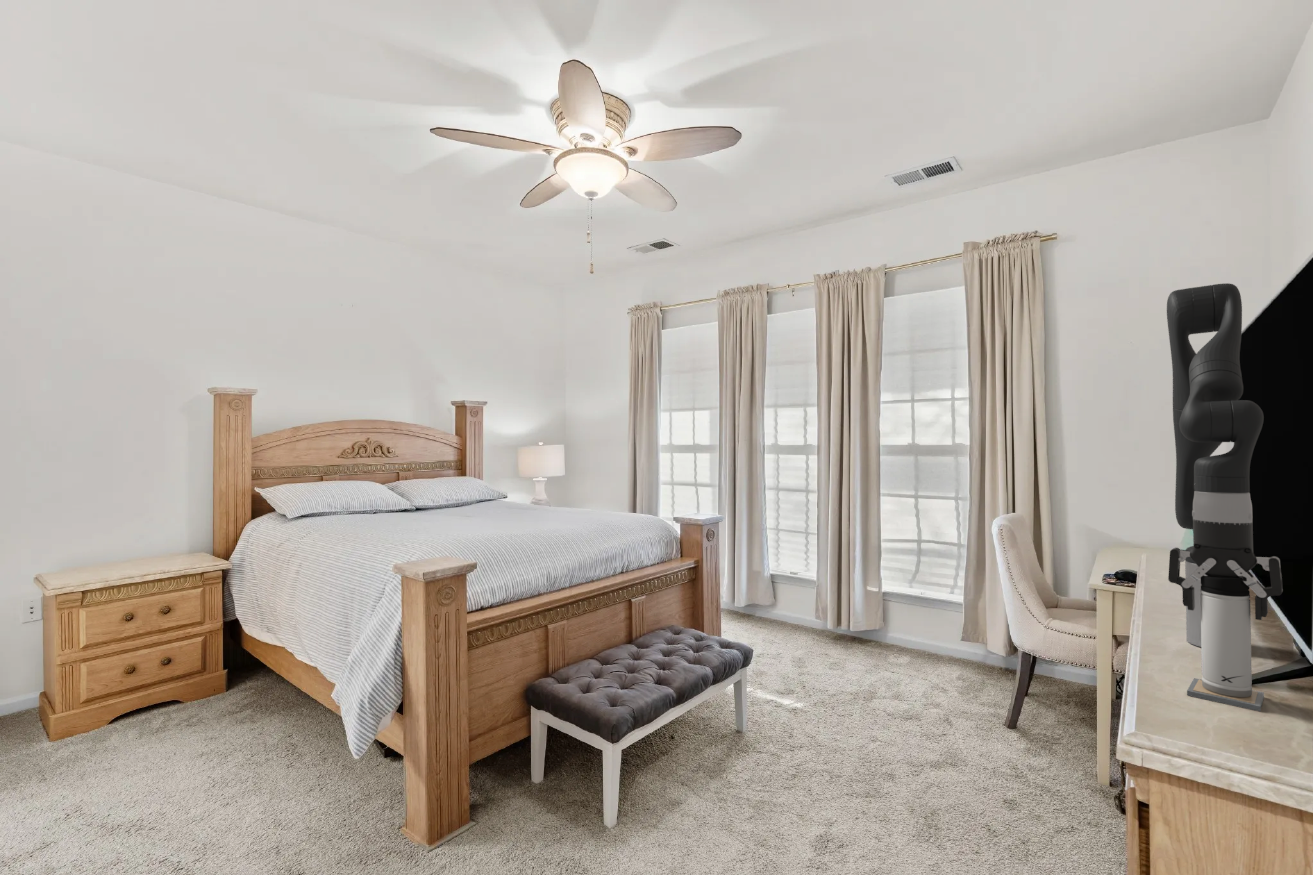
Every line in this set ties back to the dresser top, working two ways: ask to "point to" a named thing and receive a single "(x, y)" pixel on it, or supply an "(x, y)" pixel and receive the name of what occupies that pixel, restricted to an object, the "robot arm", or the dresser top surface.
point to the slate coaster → (1248, 702)
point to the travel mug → (1226, 636)
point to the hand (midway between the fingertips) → (1223, 614)
